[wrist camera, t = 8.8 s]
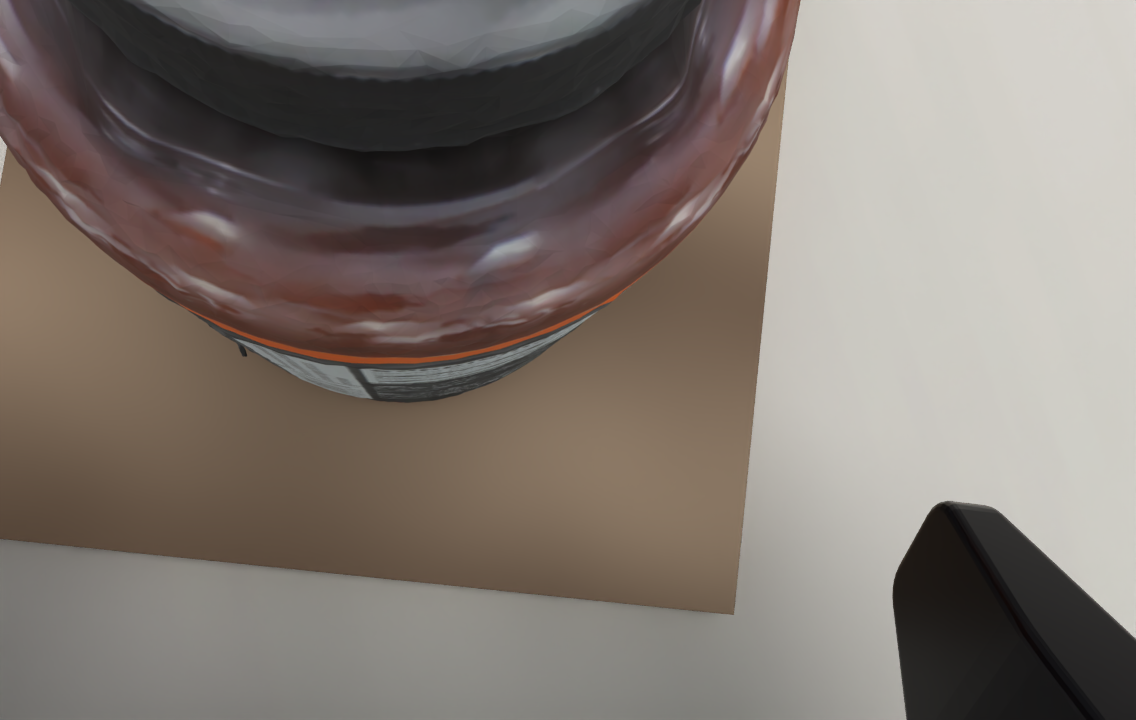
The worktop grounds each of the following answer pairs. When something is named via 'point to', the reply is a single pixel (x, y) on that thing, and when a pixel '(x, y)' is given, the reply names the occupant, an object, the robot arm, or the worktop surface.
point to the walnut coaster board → (393, 428)
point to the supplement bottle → (389, 162)
